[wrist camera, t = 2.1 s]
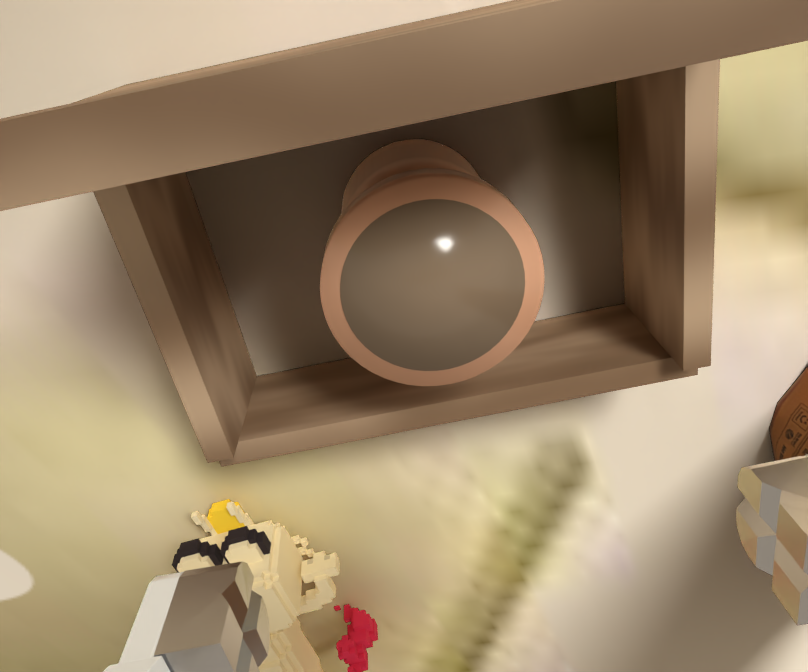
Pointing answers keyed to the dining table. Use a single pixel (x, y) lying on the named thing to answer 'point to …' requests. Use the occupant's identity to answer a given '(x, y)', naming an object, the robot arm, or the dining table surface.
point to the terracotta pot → (428, 268)
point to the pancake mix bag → (791, 421)
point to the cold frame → (389, 108)
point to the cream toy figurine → (279, 585)
